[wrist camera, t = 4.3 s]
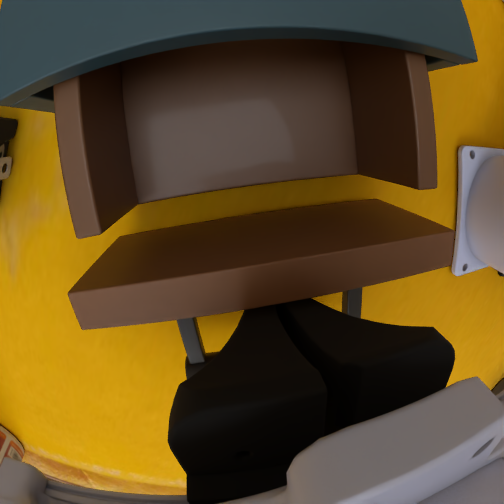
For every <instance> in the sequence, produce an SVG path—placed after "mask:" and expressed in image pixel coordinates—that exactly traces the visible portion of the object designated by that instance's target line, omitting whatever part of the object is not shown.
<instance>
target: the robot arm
mask: <svg viewBox="0 0 504 504" xmlns="http://www.w3.org/2000/svg"><path fill="white" fill-rule="evenodd" d="M470 154H471V155H470ZM488 266H491V267H492V268H494V269H496V270H498V271H499V272H501V273H503V274H504V149H497V148H487V147H477V146H465V145H462V146H460V147H459V150H458V210H457V225H456V236H455V246H454V255H453V262H452V273H453V274H454V275H456V276H460V275H463V274H466V273H470V272H473V271H476V270H479V269H482V268H485V267H488ZM454 361H455V350H454V348H453V346H452V344H451V343H450V342H449V341H448V340H446V339H445V338H444V337H443V336H442V335H441V334H440V333H439V332H438V331H437V330H436V329H435V328H434V327H416V326H399V325H391V324H384V323H378V322H373V321H369V320H365V319H361V318H357V317H354V316H351V315H348V314H345V313H342V312H340V311H337V310H335V309H332V308H330V307H328V306H326V305H324V304H322V303H319V302H318V301H316V300H314V299H312V298H308V299H302V300H297V301H292V302H286V303H281V304H275V305H270V306H264V307H258V308H252V309H246V310H244V312H243V315H242V317H241V319H240V321H239V324H238V326H237V328H236V329H235V331H234V333H233V334H232V336H231V338H230V339H229V341H228V342H227V343H226V344H225V346H224V347H223V348H222V350H221V351H220V352H219V353H218V354H217V355H216V357H214V358H213V359H212V360H211V361H210V362H209V363H208V364H207V365H206V366H205V367H203V368H202V369H201V370H200V371H198V372H197V373H195V374H194V375H193V376H191V377H190V378H188V379H187V380H185V381H184V382H182V383H181V384H180V385H179V386H178V389H177V392H176V395H175V398H174V401H173V405H172V408H171V413H170V418H169V430H168V443H169V446H170V449H171V451H172V452H173V454H174V456H175V457H176V459H177V460H178V462H179V463H180V465H181V466H182V468H183V469H184V471H185V472H186V474H187V495H147V494H133V493H122V492H113V491H105V490H98V489H91V488H85V487H80V486H75V485H70V484H65V483H61V482H56V481H52V480H48V479H47V478H46V477H45V476H44V474H43V473H42V472H40V471H39V470H38V469H37V468H35V467H34V466H32V465H30V464H28V463H25V462H22V461H18V460H15V459H12V458H9V457H4V459H3V461H2V464H1V466H0V504H504V390H503V391H501V392H500V393H499V394H497V395H496V396H495V395H494V394H493V393H492V392H491V391H490V389H489V388H488V387H487V386H486V385H485V384H484V383H483V382H482V381H481V380H480V379H479V378H478V377H472V378H468V379H465V380H462V381H458V382H456V383H454V384H452V385H450V386H448V387H446V385H447V382H448V380H449V377H450V374H451V372H452V369H453V365H454ZM445 387H446V388H445Z"/></svg>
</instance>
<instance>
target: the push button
mask: <svg viewBox="0 0 504 504" xmlns="http://www.w3.org/2000/svg"><path fill="white" fill-rule="evenodd" d="M16 128H17V120H16V119H10V118H3V117H0V194H1V185H2V179H6V178H8V176H9V175H10V169H11V163H12V158H11V157H6V153H7V147H8V142H9V140H10V139H12V138H13V137H14V135H15V132H16ZM5 163H6V164H7V168H6V171H5V172H4V173H3V171H4V164H5Z"/></svg>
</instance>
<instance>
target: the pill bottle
mask: <svg viewBox="0 0 504 504" xmlns="http://www.w3.org/2000/svg"><path fill="white" fill-rule="evenodd" d="M23 456H24V449H23V447H22V445H21V444H20V442H19V441H18V440H17V439H16V438H15V437H14V436H13V435H12V434H11V433H10V432H8V431H7V430H6V429H5V428H3V427H2V426H0V466H1V464H2V461H3V459H4V457H9V458H12V459H15V460H18V461H22V459H23Z"/></svg>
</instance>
